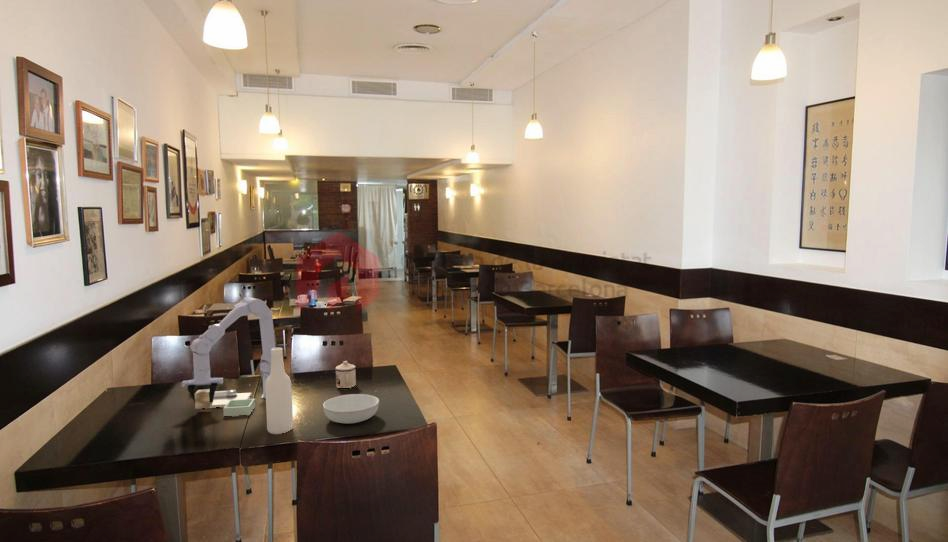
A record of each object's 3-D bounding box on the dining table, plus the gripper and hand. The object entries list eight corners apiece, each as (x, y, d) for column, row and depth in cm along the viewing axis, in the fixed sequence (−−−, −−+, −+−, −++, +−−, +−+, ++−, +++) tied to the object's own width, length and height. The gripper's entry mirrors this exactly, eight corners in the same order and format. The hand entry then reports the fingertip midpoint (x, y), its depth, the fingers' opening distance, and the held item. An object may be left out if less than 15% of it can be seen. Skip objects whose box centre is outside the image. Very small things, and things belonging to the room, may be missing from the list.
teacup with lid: (334, 384, 254) (334, 359, 252) (355, 382, 256) (354, 358, 255) (337, 392, 242) (336, 366, 241) (358, 390, 245) (357, 364, 244)
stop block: (212, 403, 222) (211, 389, 222) (209, 407, 217) (208, 392, 217) (199, 404, 221) (198, 389, 221) (195, 408, 216) (194, 393, 216)
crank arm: (237, 394, 236) (237, 386, 236) (235, 396, 233) (234, 389, 232) (206, 396, 234) (206, 388, 234) (204, 398, 231) (203, 391, 230)
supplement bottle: (213, 386, 252) (212, 361, 251) (204, 391, 245) (203, 365, 244) (199, 386, 253) (197, 360, 252) (190, 391, 246) (188, 364, 245)
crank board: (251, 395, 239) (251, 391, 239) (244, 406, 226) (243, 402, 226) (212, 397, 237) (211, 394, 237) (202, 408, 223) (201, 405, 223)
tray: (255, 406, 224) (254, 398, 224) (250, 415, 215) (249, 406, 215) (230, 408, 223) (229, 400, 222) (223, 417, 213) (223, 408, 213)
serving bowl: (390, 415, 214) (390, 398, 213) (353, 434, 196) (352, 415, 195) (350, 406, 224) (350, 390, 223) (311, 423, 206) (310, 405, 206)
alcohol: (287, 423, 206) (283, 344, 203) (297, 430, 199) (293, 348, 196) (263, 429, 200) (259, 348, 197) (273, 436, 193) (269, 352, 191)
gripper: (223, 364, 223) (225, 397, 225) (184, 367, 220) (186, 401, 221) (220, 369, 217) (222, 403, 218) (179, 372, 213) (181, 406, 214)
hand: (203, 402), depth 219 cm, fingers closed on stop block, 5 cm apart
